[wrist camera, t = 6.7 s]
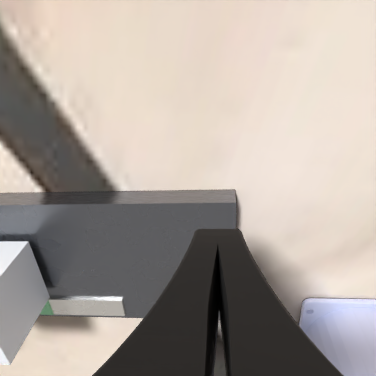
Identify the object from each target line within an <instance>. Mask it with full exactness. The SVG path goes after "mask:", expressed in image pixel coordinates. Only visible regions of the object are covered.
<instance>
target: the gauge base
mask: <svg viewBox="0 0 376 376" xmlns="http://www.w3.org/2000/svg"><path fill="white" fill-rule="evenodd" d="M197 229H236V195H235V190H178V191H111V192H45V193H0V241H29V244H30V247H31V249H32V252H33V254H34V257H35V260H36V262H37V265H38V267H39V270H40V273H41V275H42V278H43V280H44V283H45V286H46V288H47V291H48V294H49V296H50V297H49V299H48V301H47V303H46V304H45V306H44V308H43V309H42V311H41V313H40V315H42V316H82V317H122V318H144V317H145V316H146V315H147V313H148V312H149V311H150V309H151V308H152V307H153V305H154V304H155V303H156V301H157V300H158V298H159V297H160V295H161V294H162V292H163V291H164V289H165V288H166V286H167V285H168V283H169V282H170V280H171V278H172V277H173V275H174V273H175V272H176V270H177V268H178V266H179V265H180V263H181V261H182V259H183V257H184V255H185V253H186V251H187V249H188V247H189V245H190V243H191V240H192V238H193V235H194V232H195V231H196V230H197ZM218 320H220V312H219V318H218Z"/></svg>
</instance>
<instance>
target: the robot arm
mask: <svg viewBox="0 0 376 376" xmlns="http://www.w3.org/2000/svg"><path fill="white" fill-rule="evenodd" d="M308 309H310V310H308ZM219 312H220V321H221V331H222V340H223V349H224V358H225V368H226V376H376V299H326V298H308V299H305V300H304V301H303V303H302V309H301V315H300V321H299V325H298V324H297V323H296V321H295V320H294V319H293V318H292V316H291V315H290V314H289V312H288V311H287V310H286V308H285V307H284V306H283V304H282V303H281V301H280V300H279V298H278V297H277V296H276V294H275V293H274V291H273V290H272V288H271V287H270V285H269V284H268V282H267V281H266V279H265V277H264V276H263V274H262V272H261V271H260V269H259V267H258V266H257V264H256V262H255V260H254V259H253V257H252V255H251V253H250V251H249V249H248V247H247V245H246V242H245V240H244V237H243V235H242V232H241V231H240V230H239V229H197V230H196V231H195V232H194V235H193V238H192V240H191V243H190V245H189V247H188V249H187V251H186V253H185V255H184V257H183V259H182V261H181V263H180V265H179V266H178V268H177V270H176V272H175V273H174V275H173V277H172V278H171V280H170V282H169V283H168V285H167V286H166V288H165V289H164V291H163V292H162V294H161V295H160V297H159V298H158V300H157V301H156V303H155V304H154V305H153V307H152V308H151V309H150V311H149V312H148V313H147V315H146V316H145V317H144V319H143V320H142V321H141V322H140V324H139V325H138V326H137V327H136V329H135V330H134V331H133V332H132V333H131V334H130V336H129V337H128V338H127V339H126V340H125V341H124V343H123V344H122V345H121V346H120V347H119V348H118V349H117V351H116V352H115V353H114V354H113V355H112V356H111V357H110V358H109V359H108V360H107V361H106V362H105V363H104V364H103V366H101V367H100V368H99V369H98V370H97V371H96V372H95V373H94V374H93V375H92V376H214V365H215V353H216V342H217V330H218V318H219Z"/></svg>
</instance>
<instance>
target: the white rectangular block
mask: <svg viewBox="0 0 376 376" xmlns="http://www.w3.org/2000/svg"><path fill="white" fill-rule="evenodd" d="M49 297H50V296H49V294H48V291H47V288H46V286H45V283H44V280H43V278H42V275H41V273H40V270H39V267H38V265H37V262H36V260H35V257H34V254H33V252H32V249H31V247H30V244H29V241H0V364H2V365H10V364H11V363H12V361H13V359H14V358H15V356H16V354H17V352H18V351H19V349H20V347H21V345H22V344H23V342H24V340H25V339H26V337H27V335H28V333H29V332H30V330H31V328H32V327H33V325H34V323H35V321H36V320H37V318H38V316H39V315H40V313H41V311H42V309H43V308H44V306H45V304H46V303H47V301H48V299H49Z"/></svg>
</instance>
